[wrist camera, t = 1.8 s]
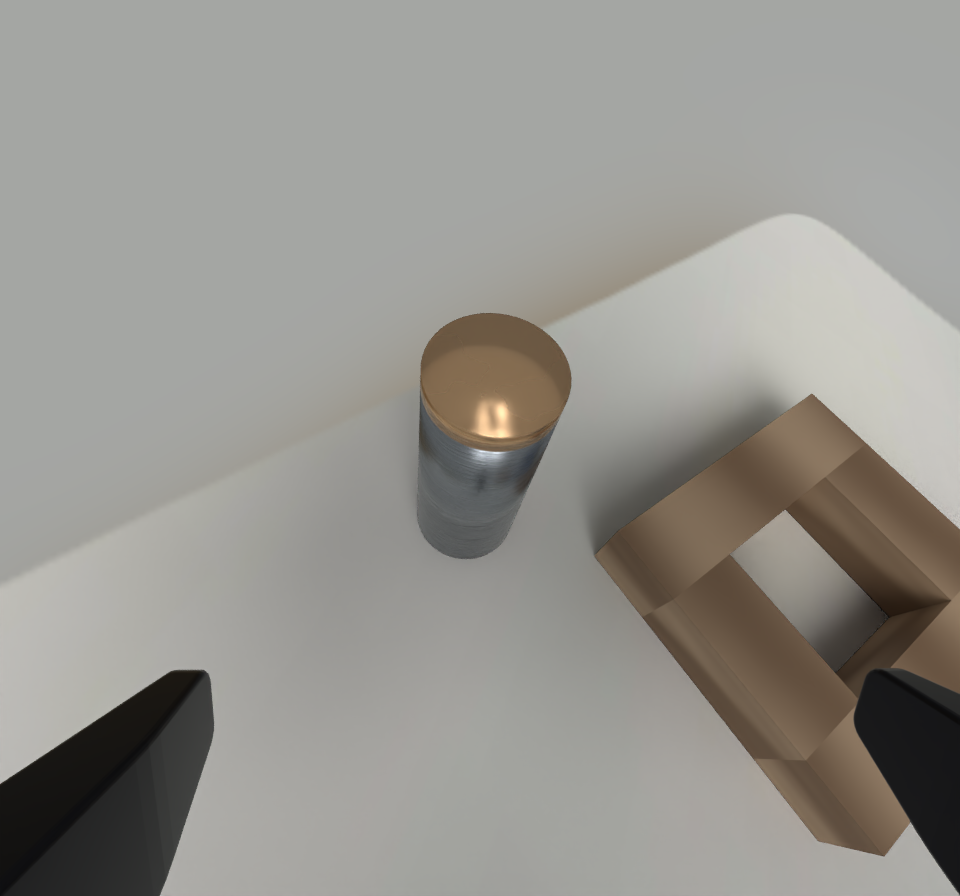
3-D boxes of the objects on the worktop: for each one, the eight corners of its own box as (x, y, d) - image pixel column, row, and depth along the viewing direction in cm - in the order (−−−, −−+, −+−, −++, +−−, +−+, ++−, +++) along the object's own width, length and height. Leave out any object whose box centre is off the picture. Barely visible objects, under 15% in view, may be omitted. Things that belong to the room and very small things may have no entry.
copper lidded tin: (451, 577, 22) (478, 463, 13) (399, 499, 23) (391, 348, 14) (530, 526, 23) (601, 392, 14) (476, 455, 24) (512, 294, 16)
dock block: (818, 841, 19) (884, 856, 16) (594, 555, 23) (618, 530, 20) (987, 637, 23) (1061, 623, 20) (773, 427, 27) (811, 393, 24)
